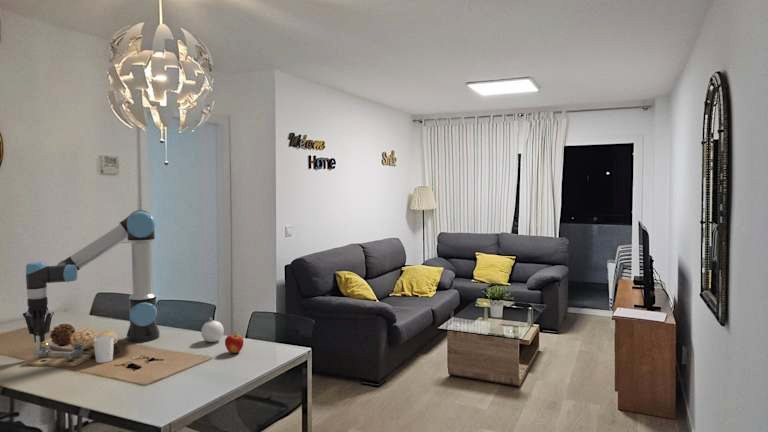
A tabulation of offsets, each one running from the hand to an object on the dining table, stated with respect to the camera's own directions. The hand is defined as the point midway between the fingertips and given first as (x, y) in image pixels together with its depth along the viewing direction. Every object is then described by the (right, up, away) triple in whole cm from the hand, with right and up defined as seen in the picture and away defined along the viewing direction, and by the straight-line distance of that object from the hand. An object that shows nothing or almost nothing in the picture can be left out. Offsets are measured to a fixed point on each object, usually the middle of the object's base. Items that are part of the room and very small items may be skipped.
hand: (40, 349), depth 241 cm
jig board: (+10, -5, -3) cm, 11 cm away
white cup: (+30, -5, -2) cm, 30 cm away
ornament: (+69, -3, +25) cm, 74 cm away
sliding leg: (+2, -3, -2) cm, 4 cm away
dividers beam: (+9, -3, -3) cm, 10 cm away
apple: (+84, -4, +8) cm, 85 cm away
